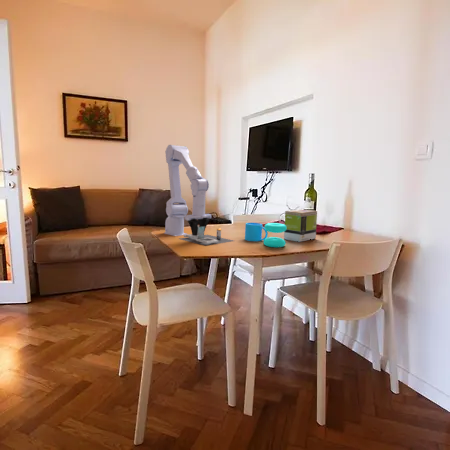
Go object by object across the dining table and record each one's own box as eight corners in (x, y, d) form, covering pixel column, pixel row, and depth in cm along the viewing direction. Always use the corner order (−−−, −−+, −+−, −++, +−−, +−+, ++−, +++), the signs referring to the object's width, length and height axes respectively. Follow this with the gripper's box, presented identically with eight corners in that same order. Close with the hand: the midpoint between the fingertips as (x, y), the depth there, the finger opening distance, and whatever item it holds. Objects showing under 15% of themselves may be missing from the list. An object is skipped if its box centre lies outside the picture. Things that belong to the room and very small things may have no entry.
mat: (178, 239, 161) (178, 238, 161) (207, 235, 174) (207, 234, 174) (205, 246, 148) (205, 245, 148) (234, 241, 161) (234, 240, 161)
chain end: (181, 236, 160) (181, 224, 160) (192, 235, 166) (192, 223, 165) (206, 243, 149) (207, 230, 148) (218, 241, 154) (218, 228, 153)
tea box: (299, 236, 184) (301, 208, 182) (316, 239, 177) (318, 210, 174) (282, 239, 173) (284, 210, 171) (299, 242, 166) (302, 212, 164)
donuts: (279, 222, 161) (291, 225, 152) (277, 243, 162) (289, 247, 153) (260, 222, 157) (271, 226, 148) (259, 244, 158) (270, 248, 149)
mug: (241, 240, 166) (242, 223, 164) (250, 238, 172) (251, 222, 171) (262, 244, 158) (263, 226, 157) (271, 241, 165) (272, 225, 164)
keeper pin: (215, 239, 162) (215, 229, 161) (218, 239, 163) (218, 228, 162) (218, 240, 160) (218, 229, 160) (221, 240, 162) (221, 229, 161)
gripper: (192, 207, 147) (191, 237, 149) (216, 205, 158) (215, 234, 160) (182, 205, 152) (181, 235, 154) (206, 204, 163) (205, 232, 165)
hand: (198, 234), depth 157 cm, fingers closed on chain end, 4 cm apart
